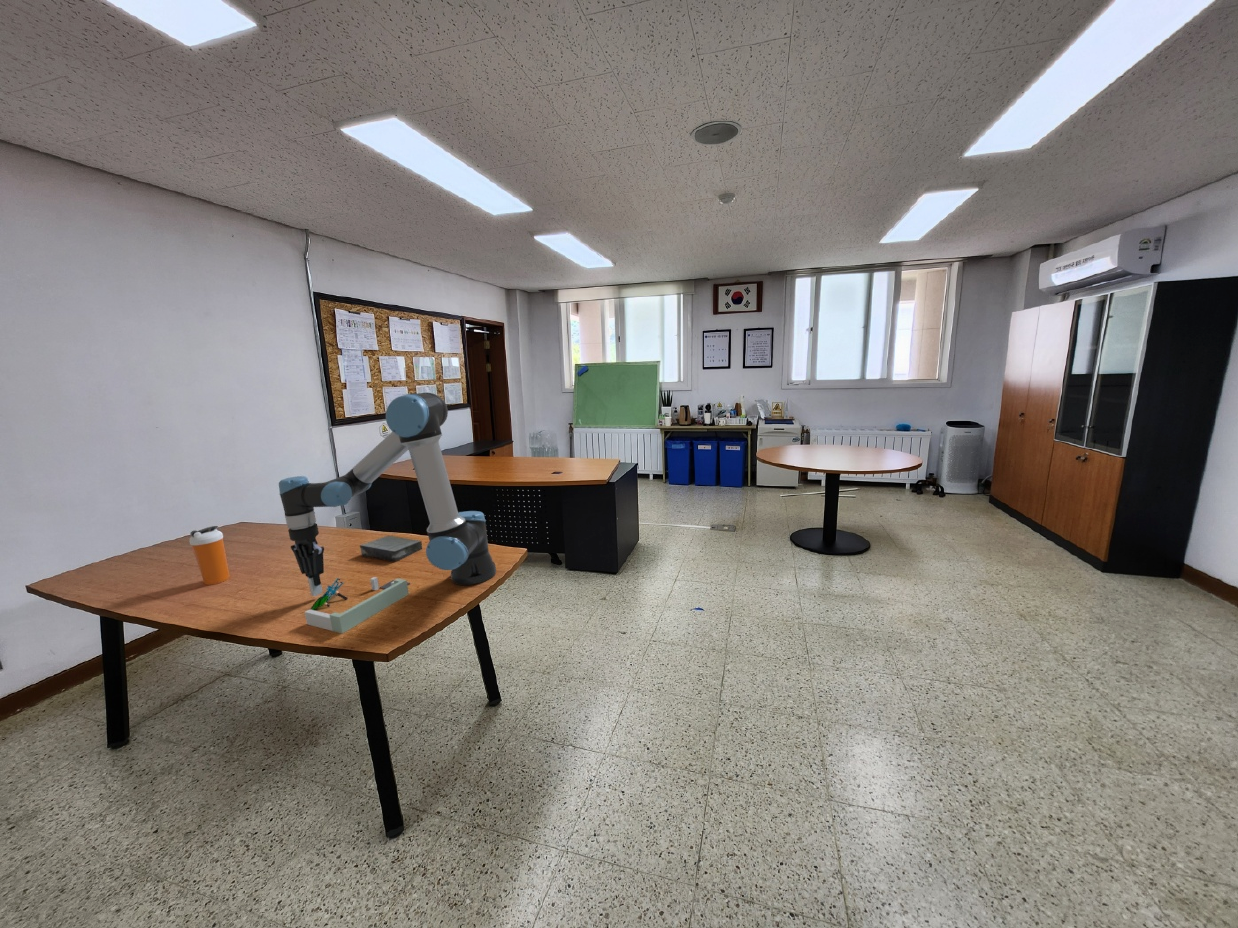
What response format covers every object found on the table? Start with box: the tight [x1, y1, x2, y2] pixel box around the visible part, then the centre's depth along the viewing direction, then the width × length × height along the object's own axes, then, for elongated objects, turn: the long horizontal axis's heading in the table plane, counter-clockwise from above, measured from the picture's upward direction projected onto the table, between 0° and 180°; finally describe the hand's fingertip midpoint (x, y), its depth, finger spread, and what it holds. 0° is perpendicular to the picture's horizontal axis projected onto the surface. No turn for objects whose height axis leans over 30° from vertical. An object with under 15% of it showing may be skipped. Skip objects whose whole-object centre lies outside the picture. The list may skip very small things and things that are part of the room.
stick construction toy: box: [310, 577, 348, 610], centre depth 140 cm, size 12×7×8 cm
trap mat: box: [379, 579, 411, 590], centre depth 150 cm, size 8×6×1 cm
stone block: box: [359, 535, 423, 563], centre depth 179 cm, size 14×20×5 cm
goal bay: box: [329, 578, 410, 634], centre depth 133 cm, size 4×23×5 cm, turn 158°
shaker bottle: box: [188, 525, 231, 586], centre depth 159 cm, size 9×9×20 cm
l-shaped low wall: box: [304, 576, 394, 632], centre depth 136 cm, size 11×23×4 cm, turn 158°
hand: (317, 593), depth 143 cm, fingers closed
